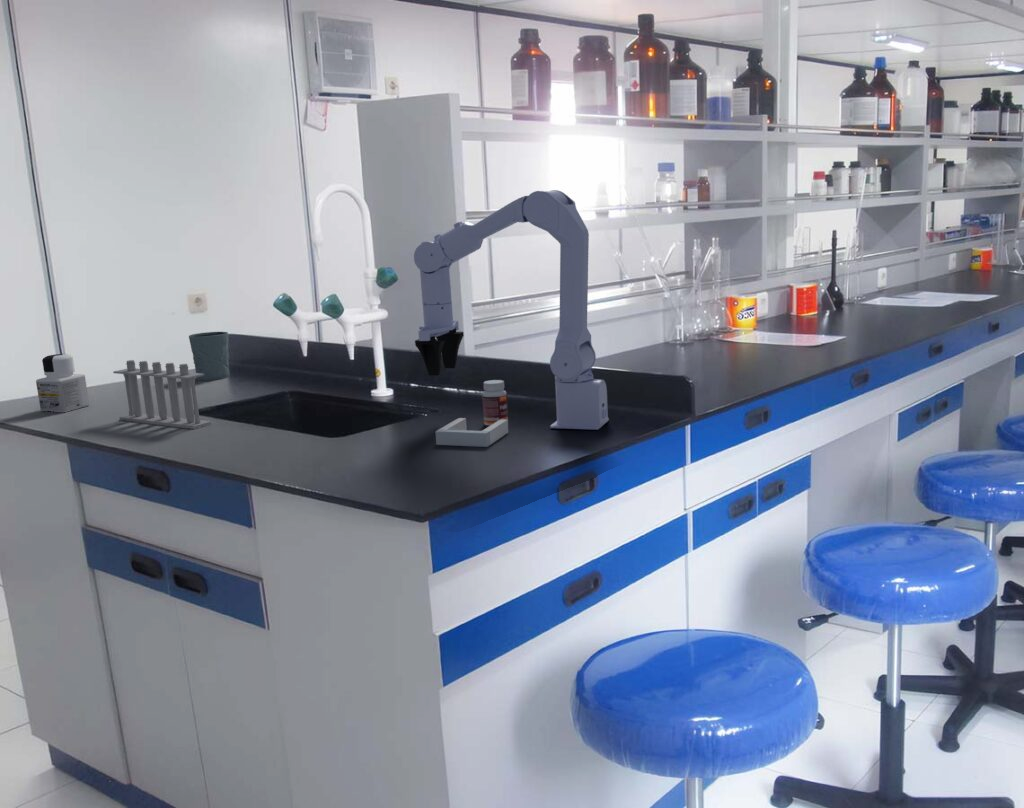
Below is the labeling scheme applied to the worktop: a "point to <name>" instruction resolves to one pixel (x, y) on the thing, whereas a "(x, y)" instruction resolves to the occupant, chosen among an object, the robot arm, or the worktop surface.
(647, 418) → the worktop surface
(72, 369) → the container
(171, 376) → the test tube rack
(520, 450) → the worktop surface
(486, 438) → the square dock
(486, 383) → the pill bottle
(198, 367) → the dark green cup
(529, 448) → the worktop surface
